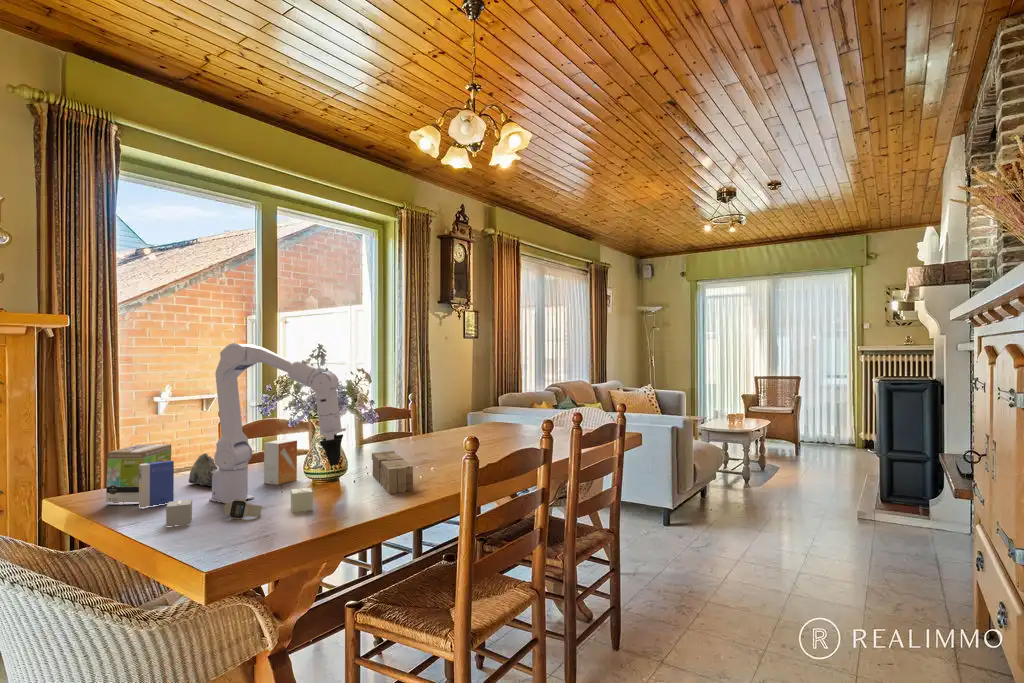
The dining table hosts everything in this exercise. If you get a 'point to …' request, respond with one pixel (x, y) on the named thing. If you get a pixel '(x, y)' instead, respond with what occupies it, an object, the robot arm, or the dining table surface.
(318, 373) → the robot arm
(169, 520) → the block marked 1
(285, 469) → the small box
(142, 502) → the blue carton
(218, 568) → the dining table surface
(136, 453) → the tea box
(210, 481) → the mineral rock
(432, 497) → the dining table surface
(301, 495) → the block marked 7
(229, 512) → the wristwatch
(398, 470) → the block tower
